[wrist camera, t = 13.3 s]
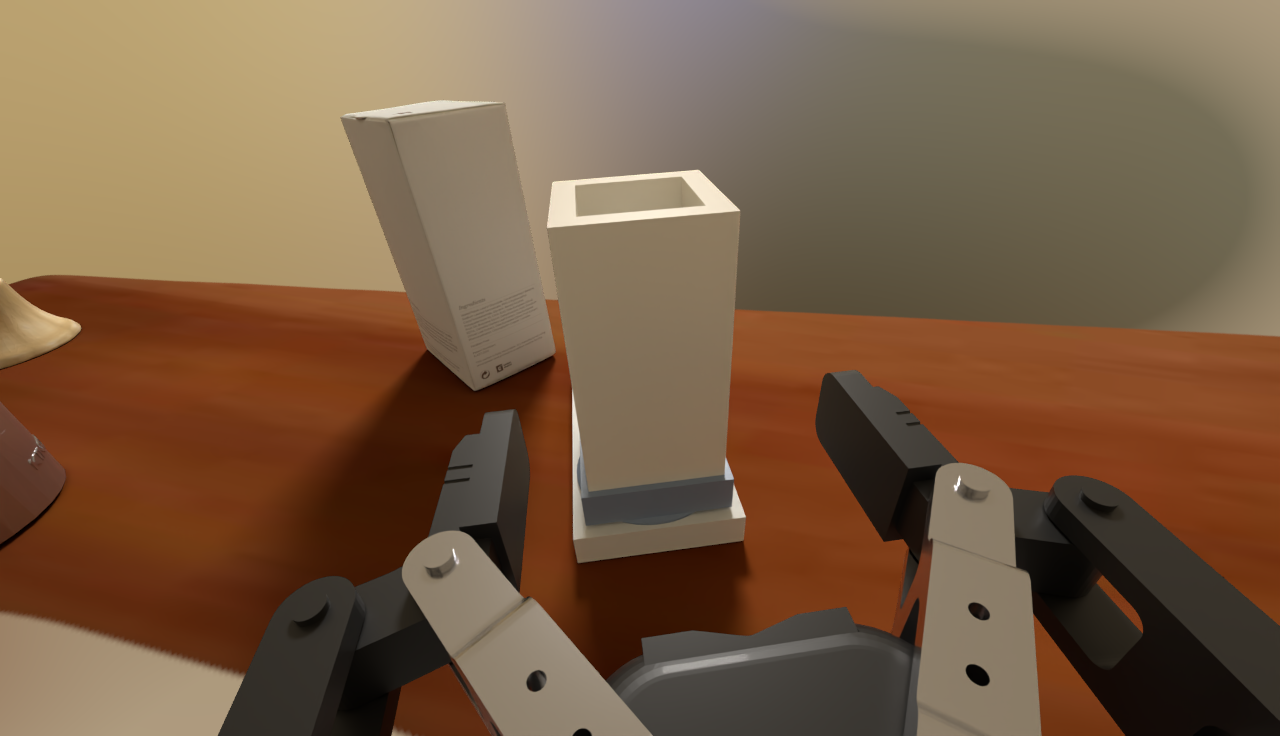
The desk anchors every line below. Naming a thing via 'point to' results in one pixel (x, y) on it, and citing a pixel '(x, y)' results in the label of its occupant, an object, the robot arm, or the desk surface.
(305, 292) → the desk surface
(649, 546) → the pin board
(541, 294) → the skincare box
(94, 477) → the desk surface
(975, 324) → the desk surface
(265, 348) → the desk surface
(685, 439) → the sleeve
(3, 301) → the hand bell
